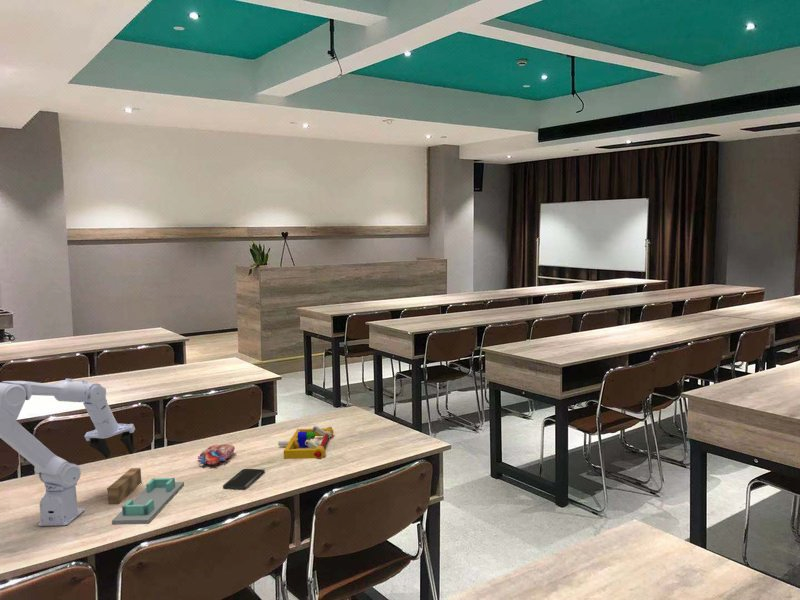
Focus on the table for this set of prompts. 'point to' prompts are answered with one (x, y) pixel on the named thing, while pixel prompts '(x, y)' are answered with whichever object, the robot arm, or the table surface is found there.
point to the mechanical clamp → (306, 443)
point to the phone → (244, 479)
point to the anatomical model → (216, 454)
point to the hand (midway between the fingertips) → (120, 453)
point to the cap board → (148, 501)
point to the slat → (124, 486)
